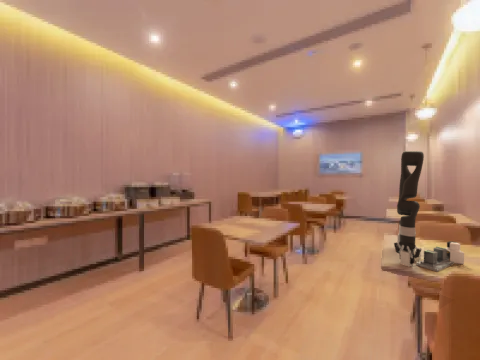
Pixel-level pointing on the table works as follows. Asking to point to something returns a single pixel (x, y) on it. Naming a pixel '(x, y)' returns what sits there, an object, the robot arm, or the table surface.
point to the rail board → (435, 259)
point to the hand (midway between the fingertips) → (406, 262)
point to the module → (405, 258)
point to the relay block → (417, 258)
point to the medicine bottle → (455, 252)
